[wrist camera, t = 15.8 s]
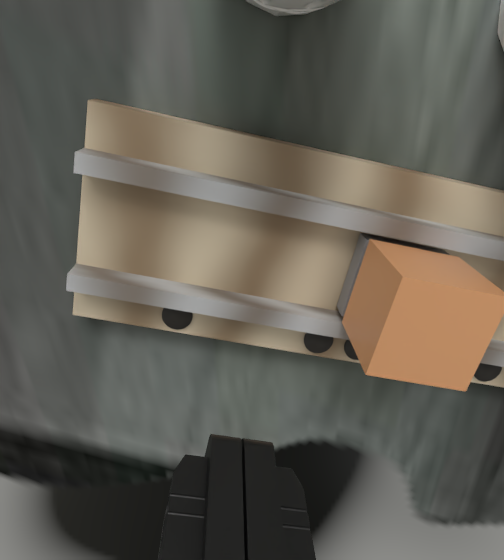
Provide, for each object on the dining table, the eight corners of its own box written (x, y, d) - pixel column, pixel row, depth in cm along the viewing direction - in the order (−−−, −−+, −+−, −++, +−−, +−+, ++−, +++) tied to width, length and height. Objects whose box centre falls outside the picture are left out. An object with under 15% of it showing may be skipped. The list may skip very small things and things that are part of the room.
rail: (80, 303, 28) (63, 327, 25) (96, 99, 23) (78, 101, 21) (546, 383, 32) (576, 412, 29) (639, 221, 27) (685, 236, 24)
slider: (335, 308, 27) (365, 374, 21) (361, 229, 25) (402, 276, 19) (414, 322, 27) (465, 391, 21) (445, 246, 26) (511, 297, 19)
